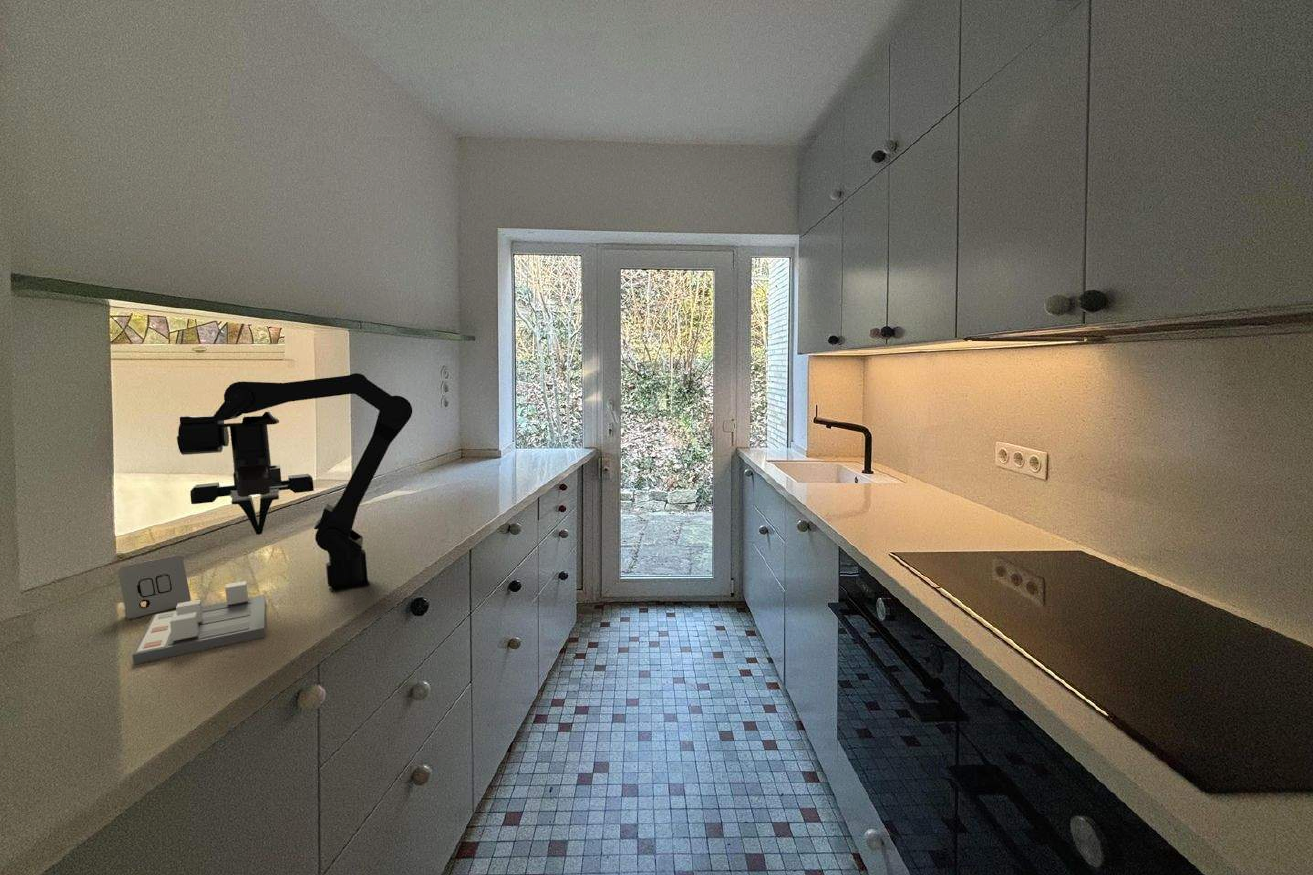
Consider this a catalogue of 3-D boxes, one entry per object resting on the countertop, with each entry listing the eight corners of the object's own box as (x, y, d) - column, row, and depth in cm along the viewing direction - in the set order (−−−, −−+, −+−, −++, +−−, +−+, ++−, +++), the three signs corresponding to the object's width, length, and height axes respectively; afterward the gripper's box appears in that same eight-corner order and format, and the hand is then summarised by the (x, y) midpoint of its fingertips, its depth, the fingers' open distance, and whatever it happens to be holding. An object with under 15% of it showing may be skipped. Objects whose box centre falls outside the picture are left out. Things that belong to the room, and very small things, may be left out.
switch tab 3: (248, 597, 112) (246, 580, 112) (247, 601, 110) (246, 584, 110) (227, 600, 110) (226, 584, 110) (227, 604, 108) (225, 587, 108)
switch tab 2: (198, 630, 97) (196, 612, 97) (197, 636, 95) (194, 616, 95) (174, 635, 95) (172, 616, 95) (172, 641, 93) (169, 621, 93)
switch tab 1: (202, 617, 103) (200, 599, 103) (201, 621, 101) (199, 603, 100) (180, 621, 101) (177, 603, 101) (178, 626, 99) (176, 607, 99)
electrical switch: (126, 621, 108) (119, 567, 107) (119, 618, 111) (112, 566, 111) (192, 605, 115) (185, 554, 115) (184, 602, 118) (177, 553, 118)
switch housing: (265, 602, 114) (264, 593, 114) (265, 637, 98) (263, 626, 98) (154, 623, 106) (153, 613, 106) (133, 664, 90) (132, 653, 90)
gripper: (182, 459, 103) (192, 552, 105) (311, 449, 113) (319, 534, 114) (189, 453, 113) (198, 539, 114) (308, 444, 122) (315, 523, 124)
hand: (259, 534), depth 116 cm, fingers closed
